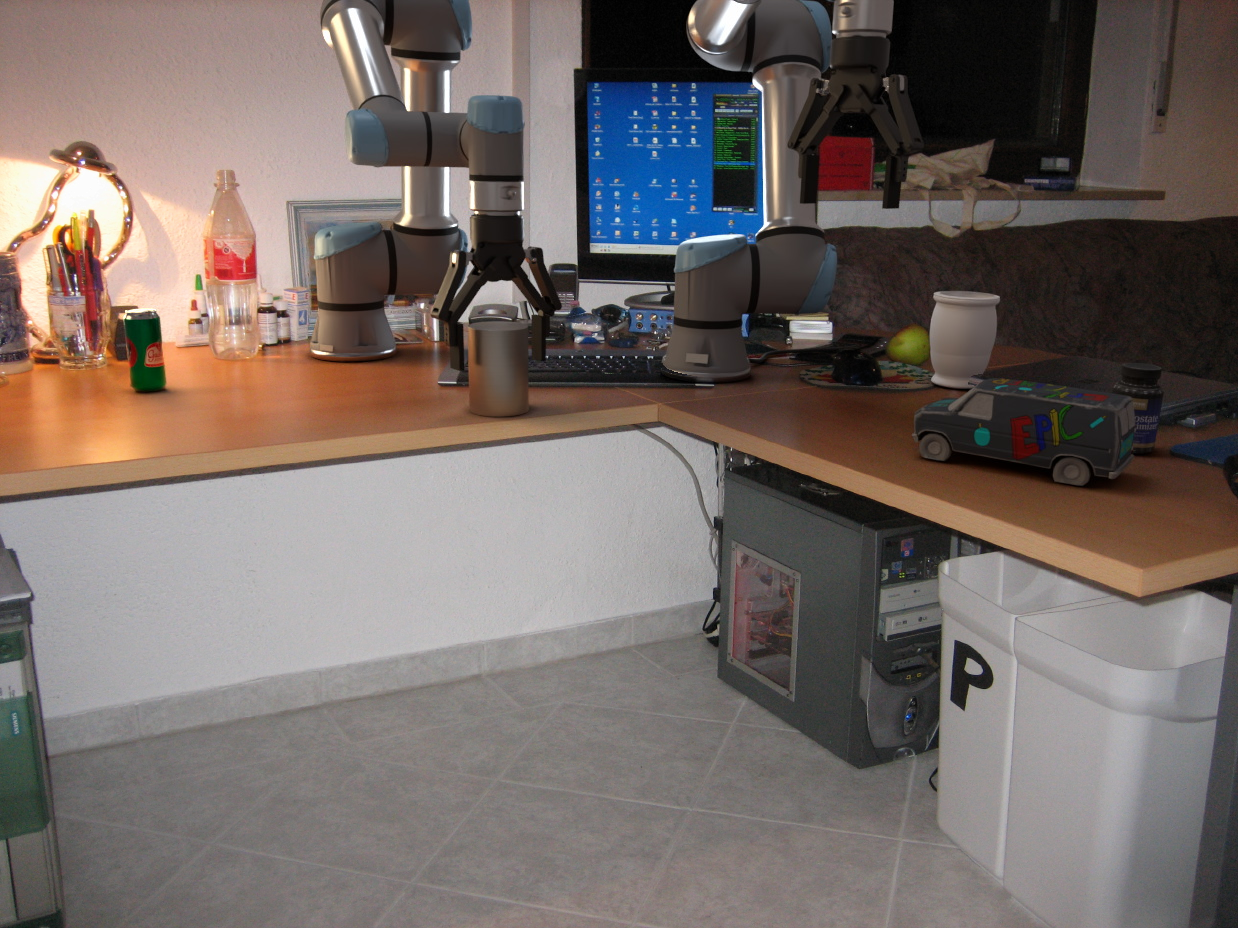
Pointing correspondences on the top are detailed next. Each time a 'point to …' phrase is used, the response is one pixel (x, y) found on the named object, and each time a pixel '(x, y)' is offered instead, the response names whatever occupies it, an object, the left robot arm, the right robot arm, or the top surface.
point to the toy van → (1033, 428)
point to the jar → (962, 336)
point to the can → (498, 368)
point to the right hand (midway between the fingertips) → (847, 206)
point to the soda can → (145, 349)
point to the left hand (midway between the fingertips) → (499, 364)
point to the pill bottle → (1142, 401)
